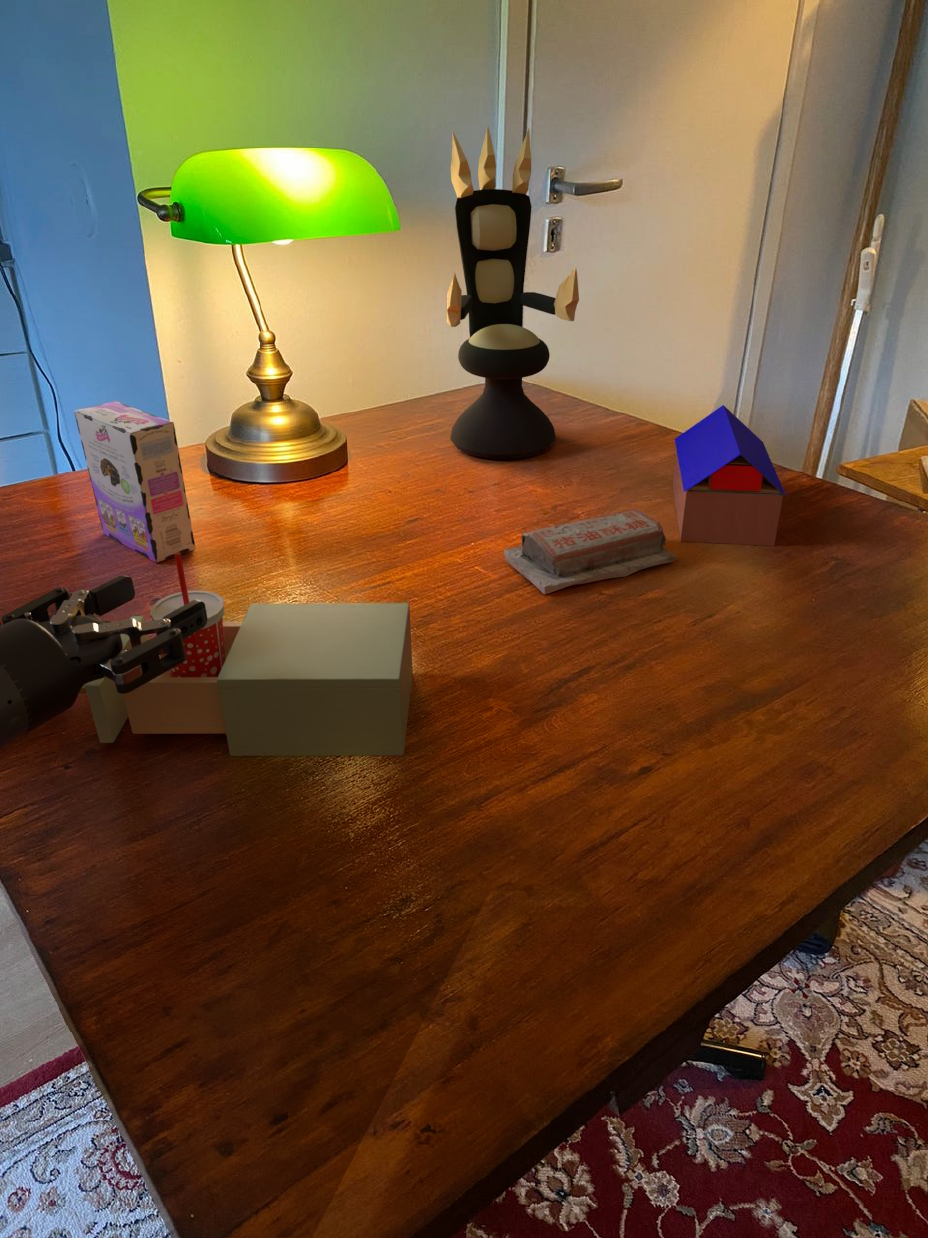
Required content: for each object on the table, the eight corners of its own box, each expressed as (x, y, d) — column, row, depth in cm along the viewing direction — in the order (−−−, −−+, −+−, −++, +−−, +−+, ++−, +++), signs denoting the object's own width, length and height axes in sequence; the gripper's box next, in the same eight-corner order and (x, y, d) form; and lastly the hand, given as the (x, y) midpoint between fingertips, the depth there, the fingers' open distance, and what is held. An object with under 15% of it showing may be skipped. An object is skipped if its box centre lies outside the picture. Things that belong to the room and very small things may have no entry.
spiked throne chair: (453, 469, 136) (447, 128, 114) (428, 424, 155) (418, 124, 133) (573, 459, 139) (590, 125, 117) (534, 416, 158) (543, 122, 136)
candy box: (198, 550, 113) (176, 420, 105) (155, 565, 109) (129, 432, 101) (141, 519, 121) (117, 397, 113) (100, 533, 117) (71, 408, 109)
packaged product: (630, 498, 113) (680, 527, 105) (627, 533, 115) (675, 565, 108) (502, 524, 106) (545, 558, 99) (502, 561, 109) (543, 597, 101)
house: (755, 487, 129) (768, 406, 123) (777, 547, 112) (793, 456, 106) (669, 483, 130) (678, 403, 124) (678, 542, 113) (688, 452, 107)
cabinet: (229, 756, 77) (216, 679, 73) (260, 673, 88) (250, 603, 84) (403, 755, 77) (399, 678, 73) (412, 672, 88) (409, 602, 84)
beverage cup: (196, 670, 85) (171, 533, 78) (251, 683, 83) (230, 544, 76) (153, 705, 80) (122, 562, 73) (210, 720, 78) (184, 575, 71)
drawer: (50, 743, 77) (33, 685, 74) (99, 669, 87) (86, 615, 84) (258, 742, 77) (249, 685, 74) (283, 668, 87) (276, 615, 84)
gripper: (40, 677, 58) (222, 576, 70) (-89, 620, 64) (98, 537, 76) (67, 769, 62) (235, 659, 74) (-57, 707, 68) (116, 615, 80)
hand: (165, 597), depth 75 cm, fingers open, 8 cm apart
